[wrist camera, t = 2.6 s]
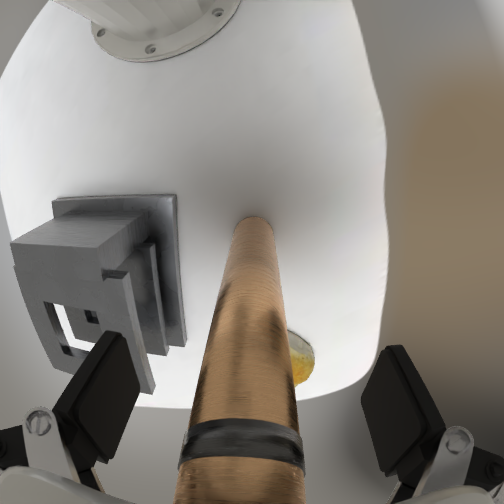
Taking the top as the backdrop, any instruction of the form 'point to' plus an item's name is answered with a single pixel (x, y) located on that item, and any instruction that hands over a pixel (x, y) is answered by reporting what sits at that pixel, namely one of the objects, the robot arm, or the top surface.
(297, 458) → the brown rod
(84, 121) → the top surface
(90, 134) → the top surface
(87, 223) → the collar stand
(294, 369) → the bread roll
